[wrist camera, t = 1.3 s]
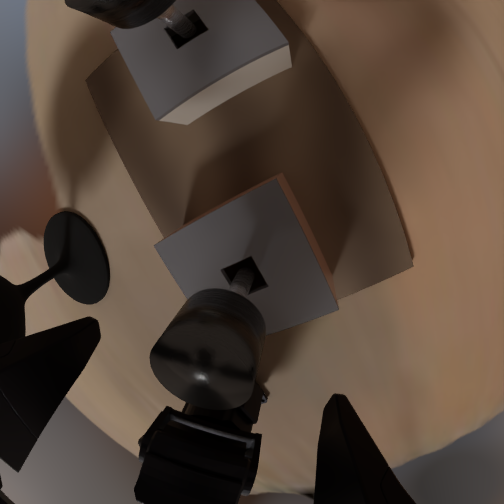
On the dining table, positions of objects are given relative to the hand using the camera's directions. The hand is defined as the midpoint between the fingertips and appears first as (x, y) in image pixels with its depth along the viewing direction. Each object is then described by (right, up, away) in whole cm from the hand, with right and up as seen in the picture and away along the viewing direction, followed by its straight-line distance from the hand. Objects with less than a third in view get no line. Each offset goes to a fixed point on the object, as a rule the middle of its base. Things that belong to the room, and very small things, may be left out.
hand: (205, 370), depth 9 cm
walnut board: (0, +11, +9) cm, 14 cm away
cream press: (-1, +18, +6) cm, 19 cm away
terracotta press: (+2, +4, +11) cm, 12 cm away
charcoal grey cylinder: (+1, +3, +7) cm, 7 cm away
